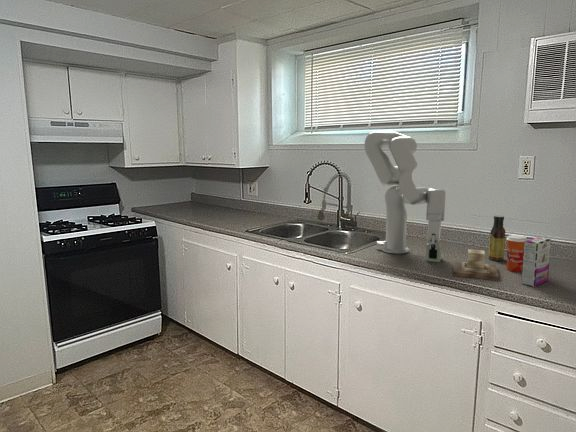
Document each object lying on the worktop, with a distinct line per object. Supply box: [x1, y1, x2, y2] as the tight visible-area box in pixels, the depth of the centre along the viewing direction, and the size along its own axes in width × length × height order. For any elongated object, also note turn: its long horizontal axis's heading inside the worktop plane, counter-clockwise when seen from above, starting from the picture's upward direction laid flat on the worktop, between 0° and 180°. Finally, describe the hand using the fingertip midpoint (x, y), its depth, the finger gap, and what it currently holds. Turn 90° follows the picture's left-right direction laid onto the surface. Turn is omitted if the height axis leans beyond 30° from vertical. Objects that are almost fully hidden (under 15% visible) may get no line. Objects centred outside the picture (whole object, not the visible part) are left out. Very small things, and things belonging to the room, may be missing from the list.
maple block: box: [466, 248, 486, 270], centre depth 167 cm, size 6×6×7 cm
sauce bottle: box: [488, 214, 507, 262], centre depth 185 cm, size 6×6×20 cm
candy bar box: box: [521, 236, 552, 287], centre depth 154 cm, size 11×5×16 cm, turn 126°
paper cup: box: [505, 234, 528, 273], centre depth 169 cm, size 8×8×14 cm
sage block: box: [425, 242, 442, 263], centre depth 187 cm, size 6×6×7 cm
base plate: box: [452, 261, 500, 281], centre depth 168 cm, size 16×16×2 cm
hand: (433, 256), depth 187 cm, fingers closed on sage block, 6 cm apart
